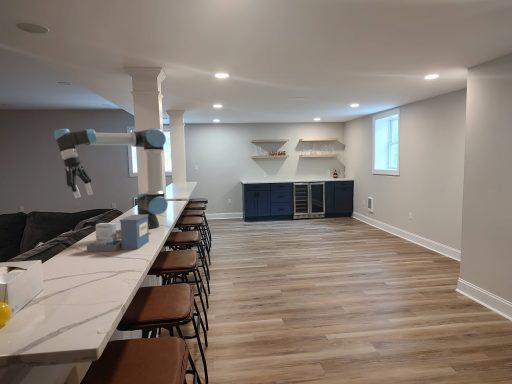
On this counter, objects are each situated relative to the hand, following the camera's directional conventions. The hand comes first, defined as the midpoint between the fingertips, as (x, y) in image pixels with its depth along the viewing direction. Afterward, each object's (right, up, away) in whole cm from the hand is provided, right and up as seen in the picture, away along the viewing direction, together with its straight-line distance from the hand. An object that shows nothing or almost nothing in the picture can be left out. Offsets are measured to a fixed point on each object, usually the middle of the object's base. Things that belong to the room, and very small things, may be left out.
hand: (84, 196), depth 171 cm
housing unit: (+29, -26, -4) cm, 39 cm away
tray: (+17, -26, -10) cm, 33 cm away
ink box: (+17, -26, -10) cm, 32 cm away
